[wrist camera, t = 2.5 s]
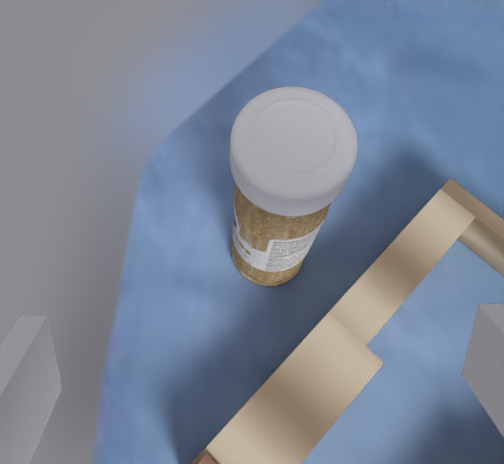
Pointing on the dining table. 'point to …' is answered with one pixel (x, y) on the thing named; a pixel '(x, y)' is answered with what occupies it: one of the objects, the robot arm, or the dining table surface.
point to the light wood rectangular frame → (351, 337)
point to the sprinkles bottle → (285, 178)
